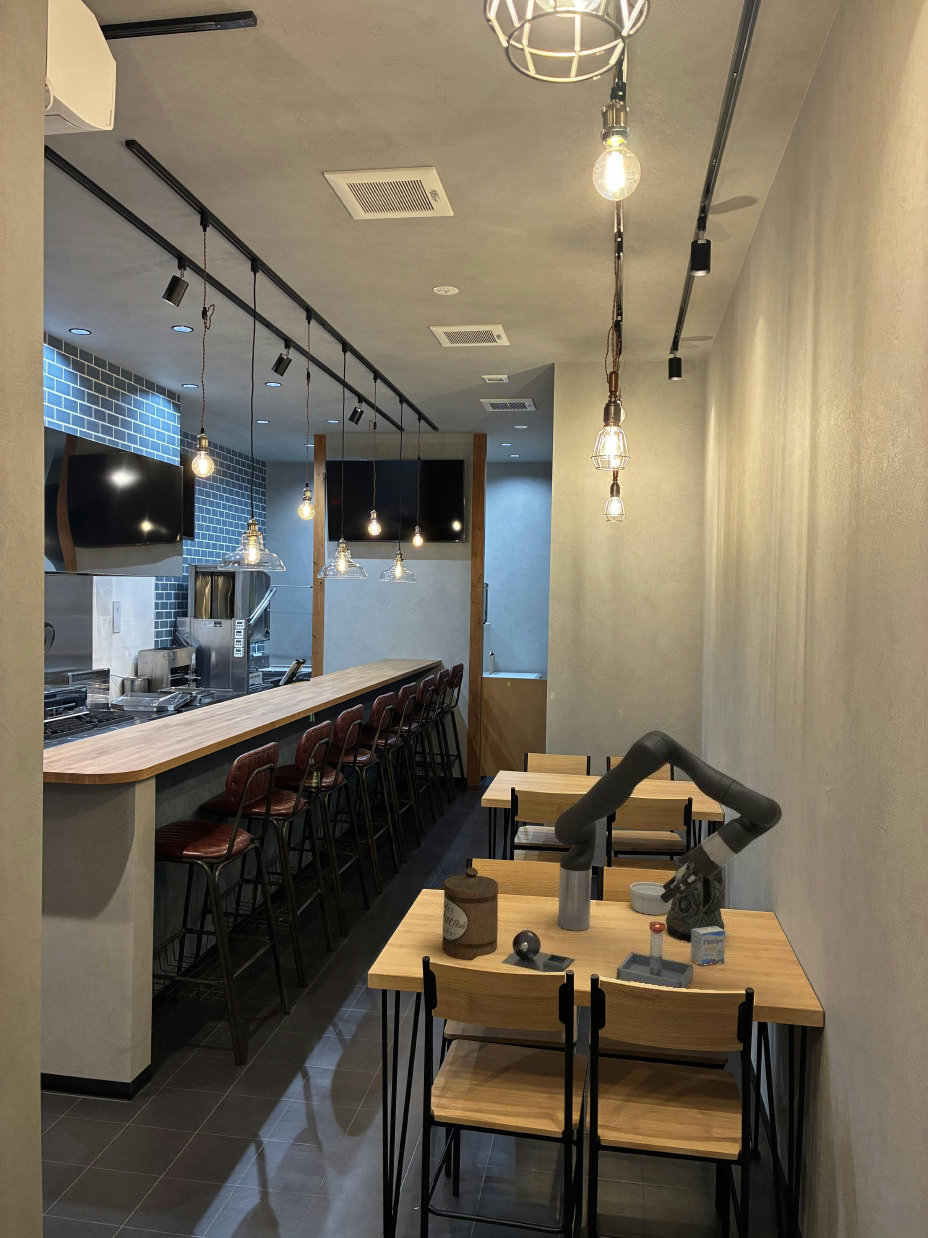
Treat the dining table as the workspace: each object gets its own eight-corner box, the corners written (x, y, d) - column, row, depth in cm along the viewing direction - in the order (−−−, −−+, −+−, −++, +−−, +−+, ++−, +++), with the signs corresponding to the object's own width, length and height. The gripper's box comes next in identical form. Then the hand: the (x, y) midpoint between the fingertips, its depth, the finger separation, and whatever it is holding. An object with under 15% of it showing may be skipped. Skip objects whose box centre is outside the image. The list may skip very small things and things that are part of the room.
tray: (630, 965, 228) (631, 952, 228) (692, 978, 221) (693, 964, 221) (616, 983, 216) (617, 969, 216) (681, 997, 209) (681, 983, 209)
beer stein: (683, 920, 265) (686, 838, 265) (743, 938, 251) (746, 851, 251) (654, 933, 253) (657, 847, 253) (716, 952, 239) (719, 861, 239)
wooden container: (434, 942, 239) (437, 862, 239) (484, 937, 244) (487, 859, 244) (453, 963, 225) (455, 878, 225) (505, 957, 231) (508, 874, 231)
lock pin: (649, 972, 221) (651, 920, 221) (664, 976, 219) (666, 923, 219) (646, 978, 217) (647, 925, 218) (661, 981, 216) (663, 928, 216)
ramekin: (645, 900, 283) (646, 879, 283) (680, 911, 273) (681, 889, 273) (620, 908, 274) (621, 886, 274) (655, 920, 264) (656, 897, 264)
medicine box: (700, 967, 229) (701, 934, 229) (689, 960, 233) (691, 928, 233) (724, 963, 232) (725, 930, 232) (713, 957, 236) (714, 925, 236)
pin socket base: (519, 951, 235) (520, 921, 235) (575, 963, 228) (576, 933, 228) (500, 966, 224) (501, 935, 224) (559, 979, 217) (560, 947, 217)
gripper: (702, 835, 222) (655, 875, 225) (701, 849, 208) (651, 891, 212) (723, 859, 221) (675, 898, 224) (723, 874, 207) (672, 916, 210)
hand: (663, 895), depth 218 cm, fingers open, 8 cm apart
